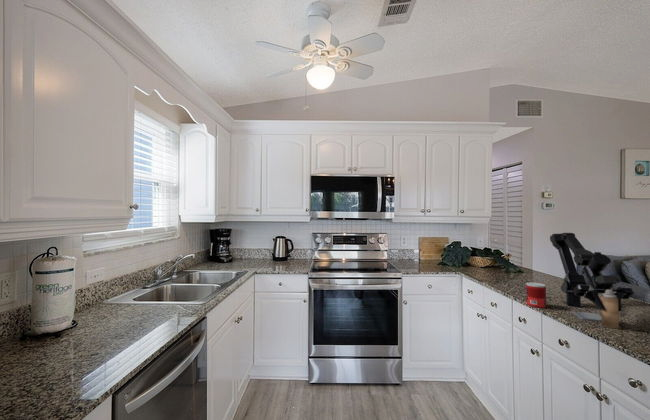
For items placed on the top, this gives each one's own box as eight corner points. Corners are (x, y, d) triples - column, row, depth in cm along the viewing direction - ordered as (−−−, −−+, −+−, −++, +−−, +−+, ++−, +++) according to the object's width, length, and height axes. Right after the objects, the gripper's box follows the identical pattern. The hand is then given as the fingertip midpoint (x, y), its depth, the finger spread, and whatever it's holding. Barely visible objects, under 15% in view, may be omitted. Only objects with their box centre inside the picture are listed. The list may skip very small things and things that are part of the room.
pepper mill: (599, 323, 120) (598, 287, 120) (614, 324, 118) (613, 288, 118) (605, 327, 115) (604, 290, 115) (621, 329, 113) (620, 291, 113)
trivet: (572, 313, 132) (572, 311, 132) (597, 315, 129) (597, 313, 129) (582, 319, 124) (582, 318, 124) (608, 322, 120) (608, 320, 120)
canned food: (549, 308, 138) (549, 286, 138) (531, 307, 140) (530, 285, 140) (540, 303, 146) (540, 282, 146) (523, 302, 147) (523, 282, 147)
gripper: (576, 266, 123) (591, 298, 113) (630, 268, 118) (652, 302, 107) (567, 279, 131) (581, 311, 120) (618, 282, 125) (637, 316, 115)
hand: (611, 310), depth 115 cm, fingers closed on pepper mill, 5 cm apart
